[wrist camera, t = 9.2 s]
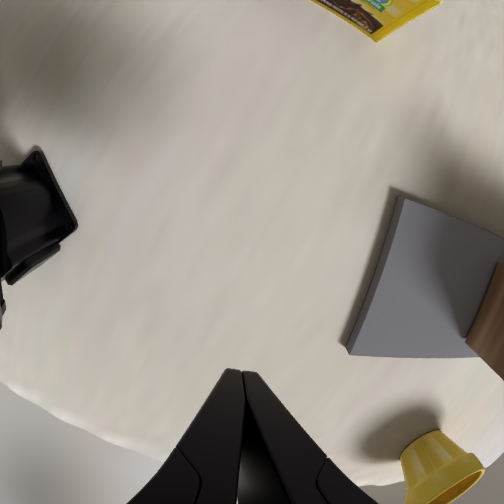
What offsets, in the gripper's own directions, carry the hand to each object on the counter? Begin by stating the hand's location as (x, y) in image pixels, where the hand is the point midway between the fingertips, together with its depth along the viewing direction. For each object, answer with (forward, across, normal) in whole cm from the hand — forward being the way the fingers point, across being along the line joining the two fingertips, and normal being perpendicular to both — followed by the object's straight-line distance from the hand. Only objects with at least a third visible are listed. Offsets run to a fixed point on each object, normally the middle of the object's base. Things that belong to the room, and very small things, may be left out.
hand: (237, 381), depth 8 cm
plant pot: (+12, -29, +22) cm, 38 cm away
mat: (+12, -23, 0) cm, 26 cm away
